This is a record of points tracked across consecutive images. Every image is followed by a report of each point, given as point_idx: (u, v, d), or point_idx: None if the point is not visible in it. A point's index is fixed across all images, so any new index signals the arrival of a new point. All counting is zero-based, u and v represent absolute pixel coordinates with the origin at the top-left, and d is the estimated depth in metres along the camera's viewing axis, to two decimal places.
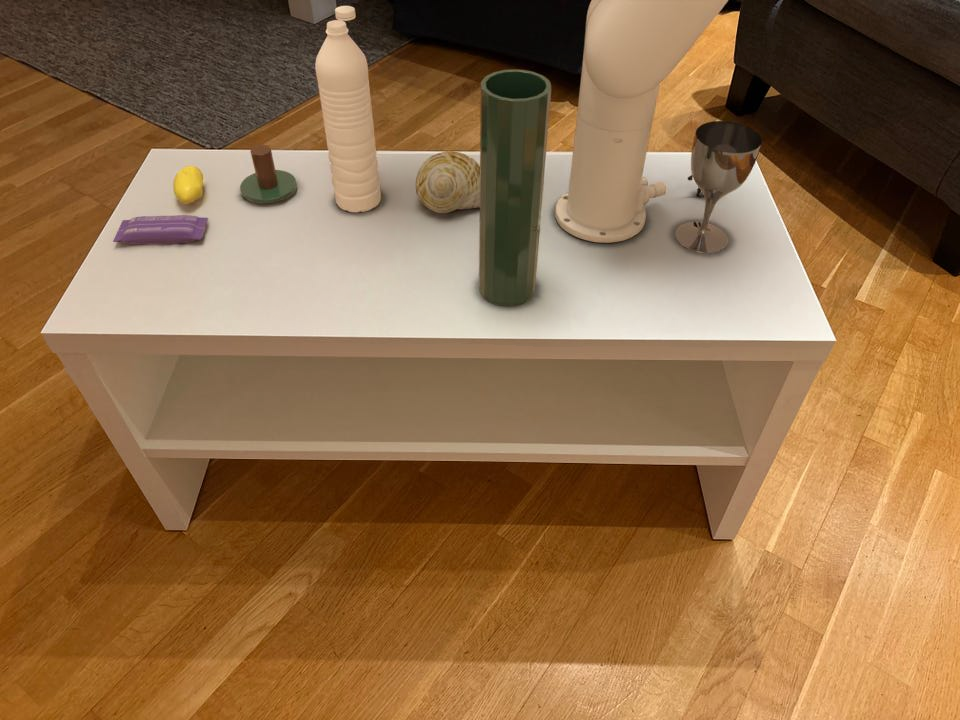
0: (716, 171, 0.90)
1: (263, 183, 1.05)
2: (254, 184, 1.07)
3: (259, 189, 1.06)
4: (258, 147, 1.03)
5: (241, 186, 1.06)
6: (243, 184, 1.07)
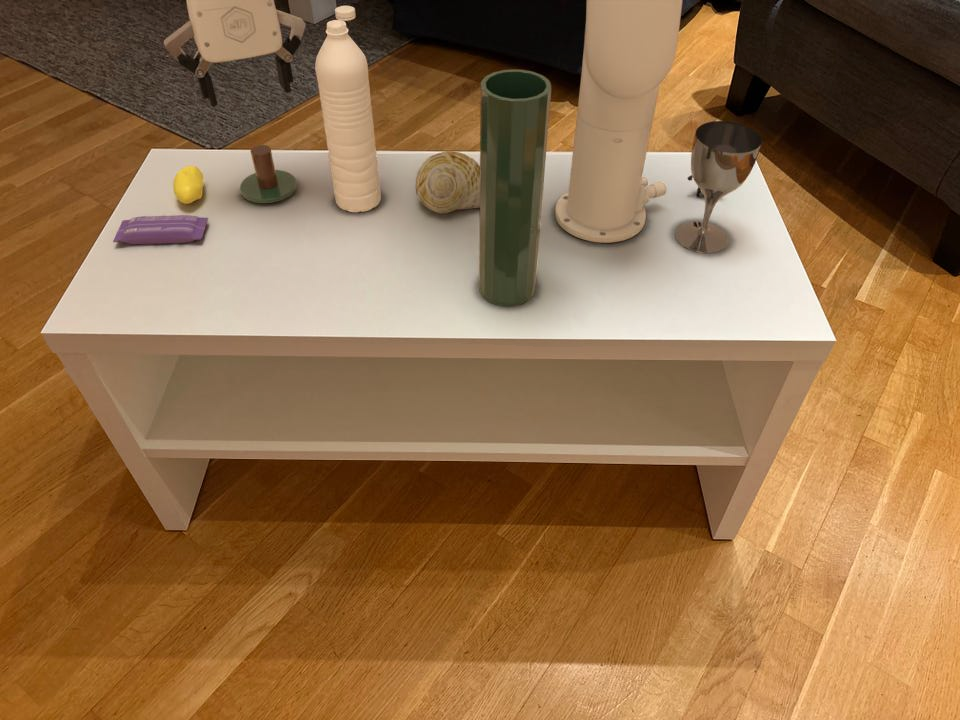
0: (716, 171, 0.90)
1: (263, 183, 1.05)
2: (254, 184, 1.07)
3: (259, 189, 1.06)
4: (258, 147, 1.03)
5: (241, 186, 1.06)
6: (243, 184, 1.07)
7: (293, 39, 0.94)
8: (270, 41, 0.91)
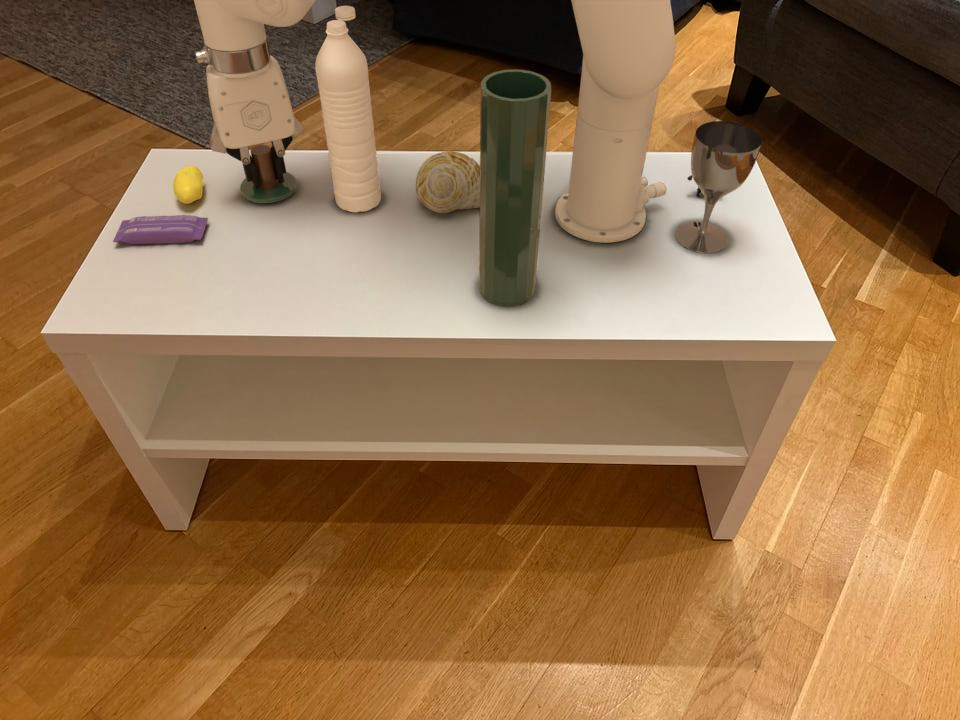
0: (716, 171, 0.90)
1: (263, 183, 1.05)
2: None
3: (259, 189, 1.06)
4: (258, 147, 1.03)
5: (241, 186, 1.06)
6: (243, 184, 1.07)
7: None
8: (285, 128, 1.00)
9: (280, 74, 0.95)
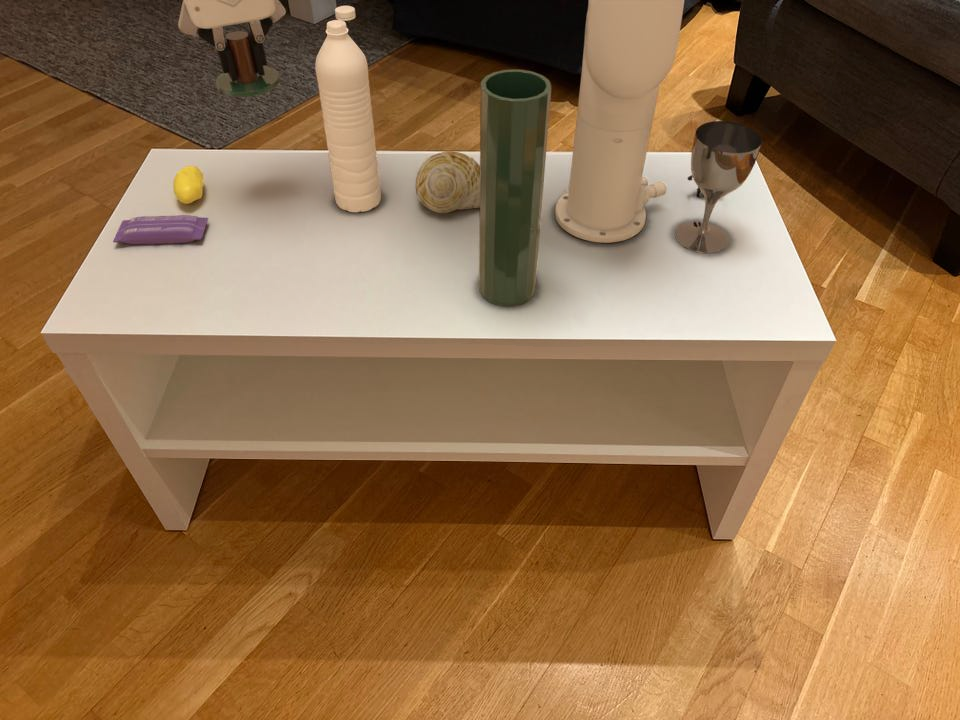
0: (716, 171, 0.90)
1: (241, 75, 0.94)
2: None
3: (237, 83, 0.95)
4: (234, 33, 0.92)
5: (217, 80, 0.95)
6: (219, 79, 0.96)
7: (264, 19, 0.91)
8: (263, 5, 0.88)
9: None
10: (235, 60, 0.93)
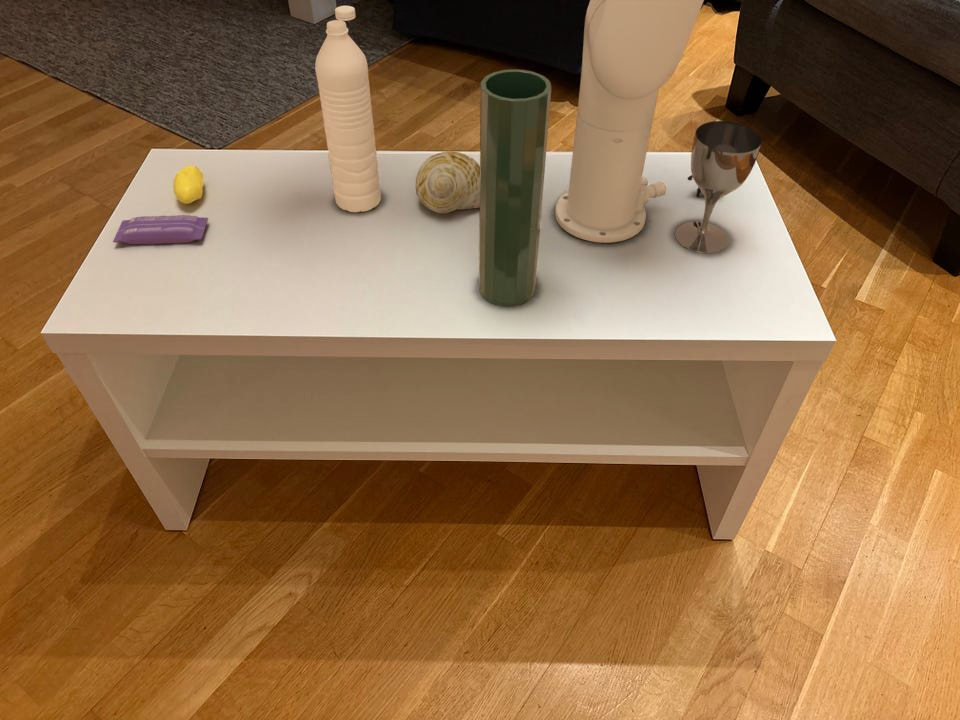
0: (716, 171, 0.90)
1: None
2: None
3: None
4: None
5: None
6: None
7: None
8: None
9: None
10: None
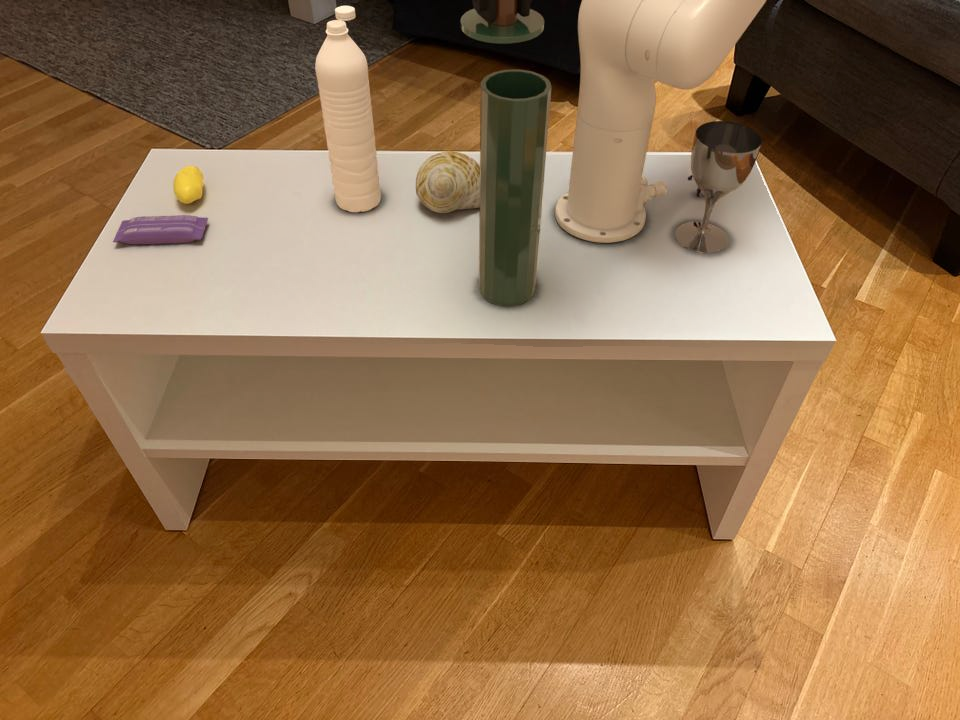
0: (716, 171, 0.90)
1: (499, 15, 0.69)
2: (481, 20, 0.70)
3: (491, 25, 0.69)
4: None
5: (463, 22, 0.70)
6: (465, 20, 0.70)
7: None
8: None
9: None
10: None
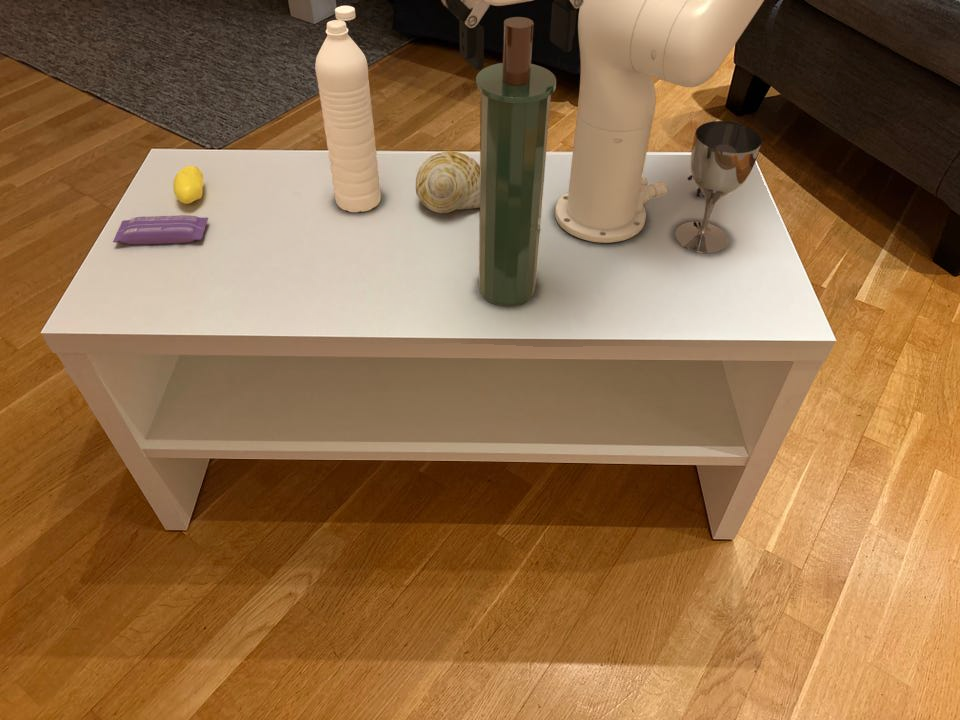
0: (716, 171, 0.90)
1: (514, 75, 0.72)
2: (496, 79, 0.73)
3: (506, 85, 0.72)
4: (513, 19, 0.70)
5: (478, 81, 0.73)
6: (480, 79, 0.73)
7: None
8: None
9: None
10: (512, 55, 0.70)
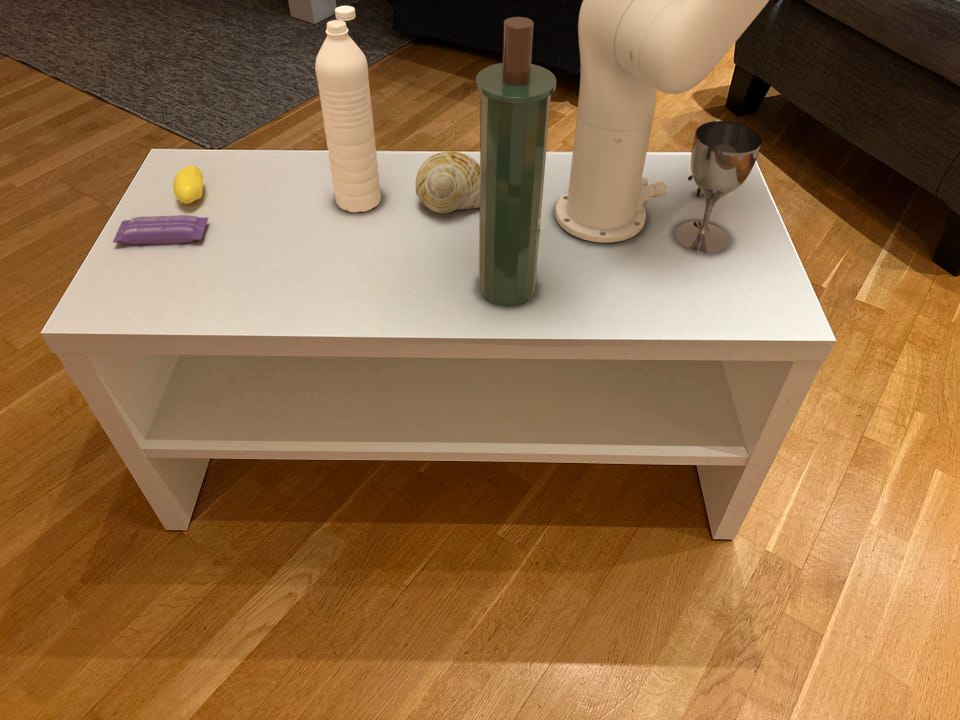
0: (716, 171, 0.90)
1: (514, 75, 0.72)
2: (496, 79, 0.73)
3: (506, 85, 0.72)
4: (513, 19, 0.70)
5: (478, 81, 0.73)
6: (480, 79, 0.73)
7: None
8: None
9: None
10: (512, 55, 0.70)
